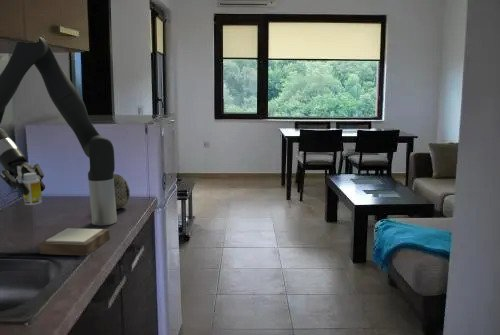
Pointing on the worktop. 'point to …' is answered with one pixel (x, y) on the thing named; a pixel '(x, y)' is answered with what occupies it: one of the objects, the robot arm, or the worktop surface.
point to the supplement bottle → (32, 189)
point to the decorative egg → (121, 191)
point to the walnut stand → (74, 241)
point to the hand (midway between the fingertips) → (35, 191)
